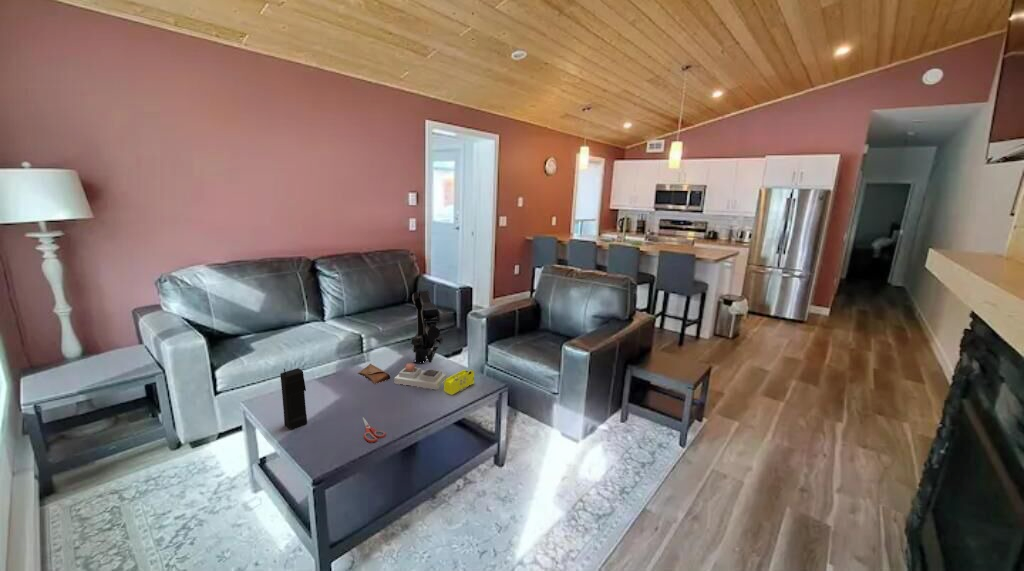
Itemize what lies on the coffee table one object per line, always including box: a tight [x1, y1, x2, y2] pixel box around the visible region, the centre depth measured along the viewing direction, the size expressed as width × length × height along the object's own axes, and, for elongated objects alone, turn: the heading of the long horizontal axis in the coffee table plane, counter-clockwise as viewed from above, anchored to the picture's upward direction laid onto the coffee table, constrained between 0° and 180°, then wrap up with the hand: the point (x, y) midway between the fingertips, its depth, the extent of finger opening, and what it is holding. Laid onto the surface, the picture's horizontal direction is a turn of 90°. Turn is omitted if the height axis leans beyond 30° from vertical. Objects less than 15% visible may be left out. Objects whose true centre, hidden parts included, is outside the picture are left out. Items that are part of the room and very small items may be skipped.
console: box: [393, 366, 447, 391], centre depth 206 cm, size 12×22×5 cm, turn 77°
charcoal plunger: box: [426, 369, 436, 377], centre depth 204 cm, size 4×4×3 cm
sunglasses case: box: [357, 363, 391, 385], centre depth 211 cm, size 18×7×7 cm, turn 49°
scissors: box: [362, 417, 387, 444], centre depth 165 cm, size 8×21×2 cm, turn 45°
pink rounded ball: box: [405, 362, 416, 372], centre depth 206 cm, size 4×4×3 cm
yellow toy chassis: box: [443, 369, 475, 396], centre depth 200 cm, size 16×6×8 cm, turn 145°
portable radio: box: [280, 368, 308, 430], centre depth 164 cm, size 8×6×25 cm
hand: (430, 362), depth 203 cm, fingers closed
